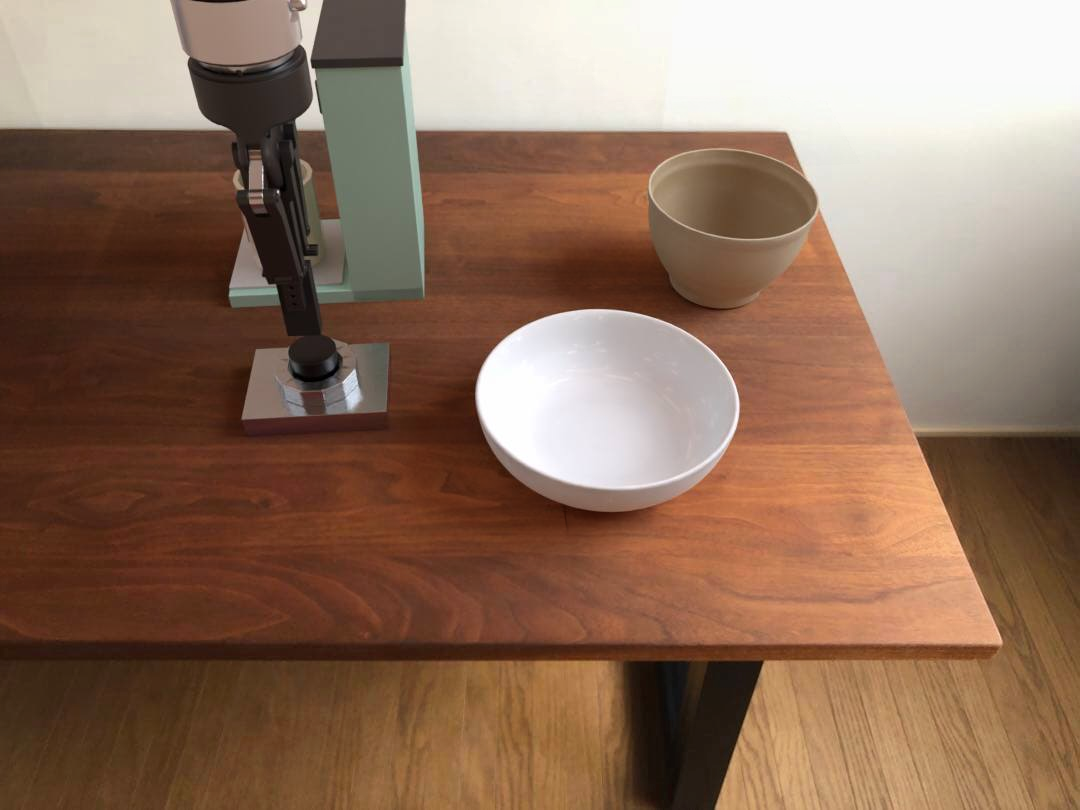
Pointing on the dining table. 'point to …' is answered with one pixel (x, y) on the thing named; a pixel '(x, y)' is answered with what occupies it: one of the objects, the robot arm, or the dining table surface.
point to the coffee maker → (361, 163)
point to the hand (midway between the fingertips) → (305, 329)
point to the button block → (319, 393)
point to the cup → (312, 212)
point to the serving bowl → (606, 408)
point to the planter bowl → (727, 222)
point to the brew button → (313, 358)
